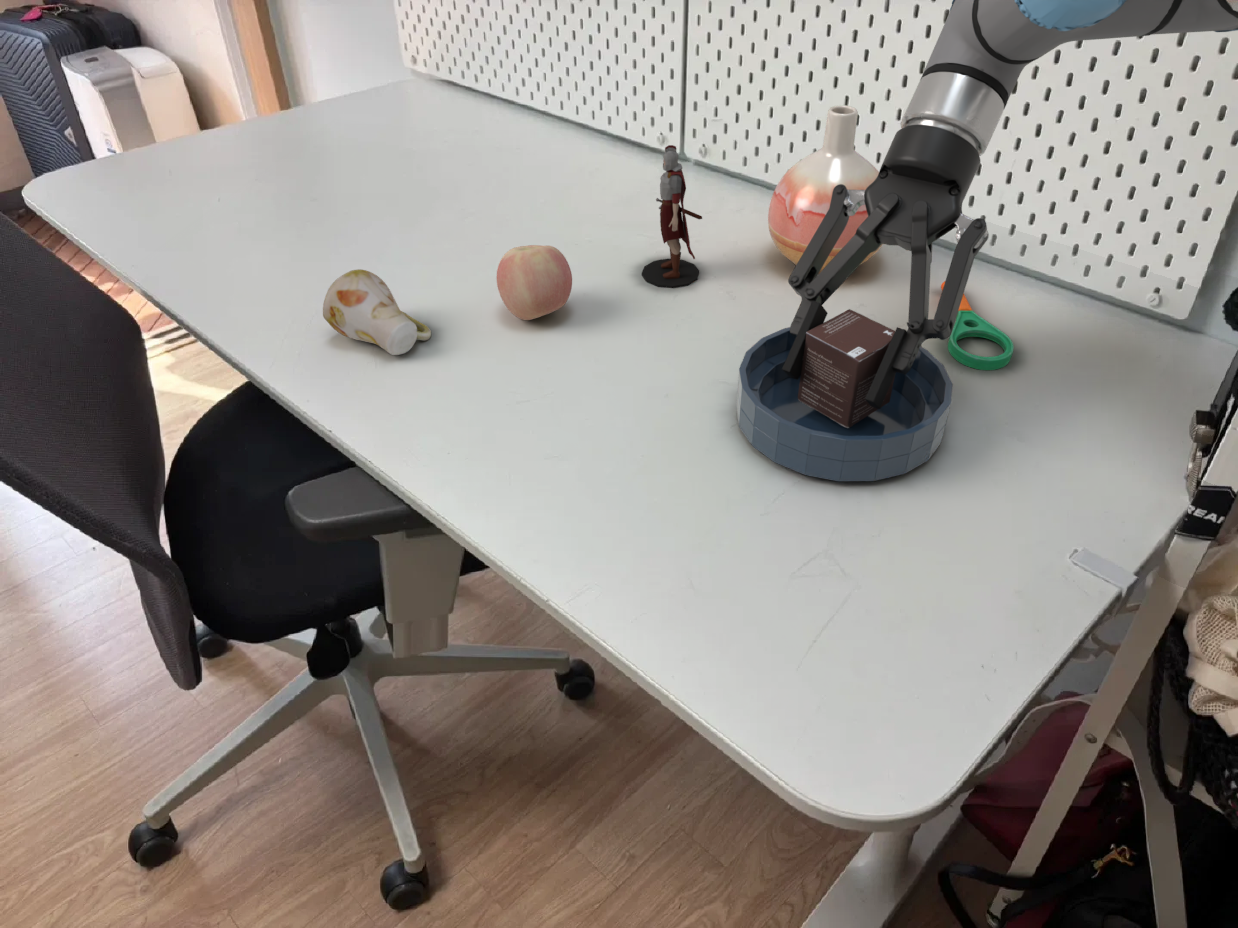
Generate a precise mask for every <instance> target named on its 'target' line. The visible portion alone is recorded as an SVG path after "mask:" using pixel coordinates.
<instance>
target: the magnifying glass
mask: <svg viewBox="0 0 1238 928" xmlns="http://www.w3.org/2000/svg"><path fill="white" fill-rule="evenodd" d="M945 281H946V280H944V281H943V282H942V283H941V284H940V289H941V292H942V291H943V287H944V284H945ZM970 337H973V338H974V337H975V338H983V339H987V340H990V341H992V342H994V343H996V344H998V345H999V346H1000V347H1001V348H1002V349H1003V353H1001V354H999V355H995V356H980V355H976V354H973V353H970V352H968V351H966V350H964V349H963V348H961V346H959V344H958V341H959V340H961V339H964V338H970ZM1014 348H1015V345H1014V342H1013V340H1012V339H1011V337H1009V336H1008V335H1007V334H1006V333H1005V332H1003V330H1001V329H999V328H997V326H994V325H993V324H992V323H990V322H989V321H988V320H986V319H985V318H983V317H982V316H980V315H979V314H977V313H976V312H975V310H973V309H972V307H971V305H970V302H969V301H968V299H967V297H966V295H965V293H964V294H963V297H962V300H961V304H960V307H959V310H958V313H957V317H956V320H955V323H954V326H953V330H952V333H951V335H950V337H949V338H948V342H947V351H948V352H949V354H950V356H951V357H953V359H954V360H956V361H957V362H958V363H960V364H962V365H963V366H966V367H969V368H972V369H974V370H980V371H994V370H995V371H996V370H999V369H1002V368H1004V367H1006V366H1008V364H1009V363H1010V361H1011V359H1012V357H1013V353H1014V351H1015V350H1014Z"/></svg>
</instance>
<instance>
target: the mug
mask: <svg viewBox="0 0 1238 928" xmlns="http://www.w3.org/2000/svg"><path fill="white" fill-rule="evenodd" d="M322 317H323V319H324V320H325V322H327V323H328V324H329V326H330V327H331V328H332V329H333V330H335V332H337V333H339V334H340V335H342V336H344V337H345V338H346V337H347V338H350V339H352V340H357V341H361V342H366V343H370V344H374V345H377V346H378V347H380V348H381V349H383V350H384V351H385V352H387V354H390V355H393V356H399V355H404V354H406V353H408V352H409V351H410V350H411V349H412V348H413V347H414V345H415V343H416V341H417V340H419V341H424V342H425V341H428V340H429V339H430V338H431V337H432V331H431V329H430V328H429V326H427V325H426V324H424V323H422V322H420V321H419V320H417V319H415V318H413V317H412V316H410V315H408V314H407V313H406V312H404V311H403V310H401V309H400V307H399V305H398V303H397V301H396V299H395V297H394V295H393V293H392V291H391V290H390V288H389V287H388V285H387V284H386V282H385V281H384V280H383V279H382V278H381V277H380V276H378V275H377V274H375V273H373V272H371V271H369V270H367V269H353V270H350V271H347V272H345V273H344V274H342V275H340V276H339V277H338V278H336V279H335V280H334V281H333V282H332V283H331V284H330V286H329V287H328V289H327V291H326V294H325V297H324V300H323V304H322Z"/></svg>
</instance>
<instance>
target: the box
mask: <svg viewBox="0 0 1238 928" xmlns="http://www.w3.org/2000/svg"><path fill="white" fill-rule="evenodd" d="M895 331H896V329H895V330H894V329H893V328H890V327H888V326H886V325H884V324H882V323H880V322H878V321H875V320H874V319H871V318H869V317H867V316H865V315H863V314H861V313H859V312H857V311H855V310H852V309H850V308H848V309H847V310H845V311H843V312H842V313H839V314H838V315H836V316H834V317H832V318H830V319H828V320H826V321H824V323H823V324H821V325H819V326H817V327H815V328H813V329H811V330H809V331H807V332H806V341H805V347H804V354H803V362H802V368H801V377H800V384H799V392H798V399H799V401H800V402H802V403H804V404H805V405H807V406H809V407H811V408H813V409H815V410H817V411H819V412H820V413H822V414H824V415H825V416H827V417H829V418H830V419H832V420H834V421H835V422H837V423H838V424H840V425H841V426H843V427H846V428H850V427H851V426H853V425H854V424H856V423H857V422H859V421H860V420H862V419H864V418H865V417H867V416H868V415H870V414H871V413H873V412H874V411H876V410H878V409H877V408H874V407H871V406H870V404H869V403H868V402H867V401H866V400H865V398H866V396H867V393H868V391H869V389H870V387H871V384H872V382H873V380H874V378H875V375H876V373H877V371H878V369H879V366H880V364H881V362H882V360H883V357H884V355H885V353H886V351H887V349H888V346H889V344H890V342H891V340H892V337H893V335H894V333H895ZM894 378H895V376H894ZM894 378H893V381H892V383H891V385H890V387H889V390H888V392H887V394H886V396H885V398H884V401H883V403H882V405H881V407H882V406H884V405H886V404H887V403H889V402H890V398H891V392H892V387H893V382H894ZM881 407H880V408H881Z"/></svg>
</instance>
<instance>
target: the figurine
mask: <svg viewBox="0 0 1238 928" xmlns="http://www.w3.org/2000/svg"><path fill="white" fill-rule="evenodd" d="M662 159H663V163H662V170H663V171H665V172H663V173H662V175H661V176H660V178H659V179H660V184H659V194H660V199H659V198H658V197H656V199H655V200H656V202H657V203H661V205H660V206H659V207H658V210H660V211H659V225H660V232H661V234H660V235H661V237H662V238H661V239H662V242H663V244H665V245H667V246H668V247H669V255H670V257H669V258H663V259H657V260H653V261H651V262H649V263H648V264H645V265H644V267H643V268H642V271H641V277H642V278H643V280H644V281H645V282H646V283H647V284H650V285H653V286H655V287H658V288H663V289H664V288H665V289H666V288H667V289H678V288H682V287H683V288H684V287H688V286H690V285H692V284H693V283H695V282H696V281H698V279H699V277H700V269H699V268H698V267H697V266H696V265H695V263H692V262H690V261H687V260H685V259H681V256H682V252H681V250H682V246H681V242H680V240H682V241H683V242H684V243H685V244H686V248H687V251H688V252H687V253H688V254H689V255H690V256H691V257H692V259H693V260H696V256H695V255H694V253H693V250H692V249H691V241H690V235H689V228H688V223H687V217H686V215H687V216H690V217H691V218H694V219H697V220H703V216H702V215H700V214H697V213H695V212H694V211H691V210H688V209H686V208H685V206H684V198H685V194H686V192H687V185H686V179H685V176H684V173H683V165H682V163H679V153H678V152H677V146H675V145H674V144H671V145H670V144H668V145H666V146H665V147H664V154H663V157H662Z"/></svg>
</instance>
